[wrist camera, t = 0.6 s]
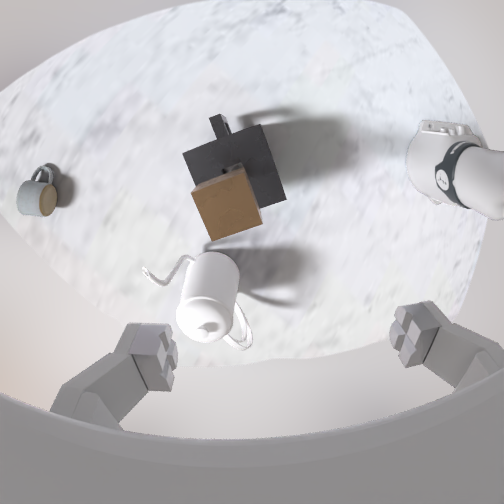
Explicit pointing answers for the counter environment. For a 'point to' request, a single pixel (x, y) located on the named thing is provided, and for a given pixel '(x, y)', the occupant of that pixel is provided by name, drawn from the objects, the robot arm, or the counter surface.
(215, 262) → the coffeepot
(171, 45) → the counter surface
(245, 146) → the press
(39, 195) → the ceramic mug
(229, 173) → the plunger
